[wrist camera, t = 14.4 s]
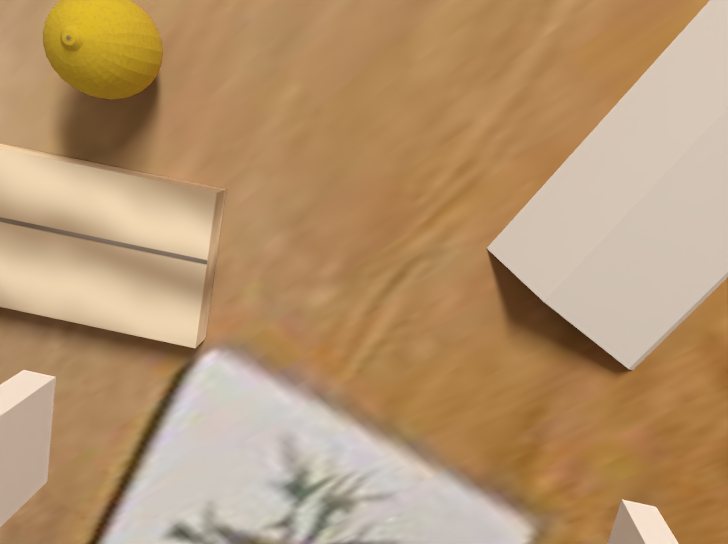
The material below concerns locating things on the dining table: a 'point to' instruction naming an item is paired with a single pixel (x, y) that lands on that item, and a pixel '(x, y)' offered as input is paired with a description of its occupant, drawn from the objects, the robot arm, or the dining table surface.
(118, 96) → the lemon
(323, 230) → the dining table surface
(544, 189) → the crown molding
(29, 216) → the board
